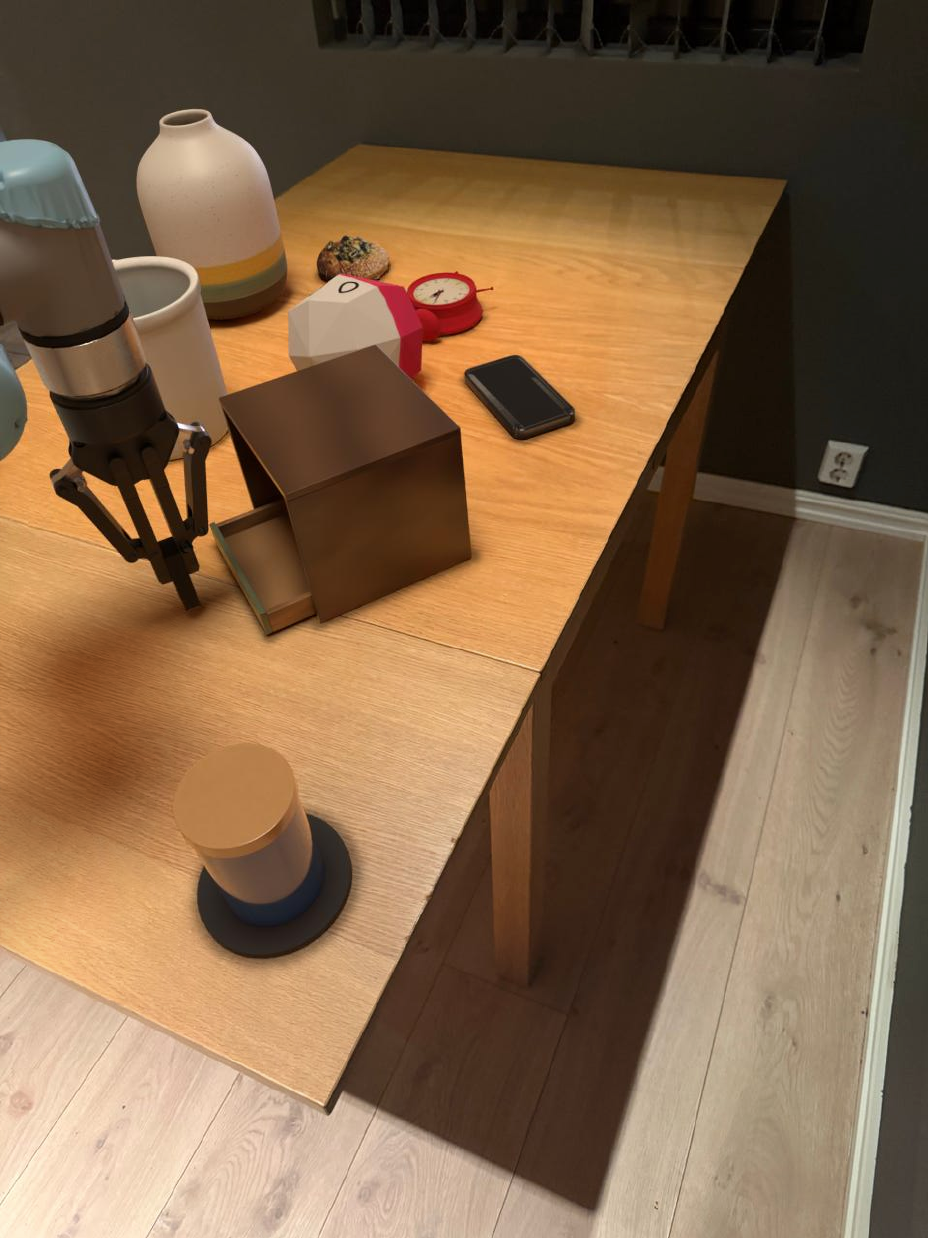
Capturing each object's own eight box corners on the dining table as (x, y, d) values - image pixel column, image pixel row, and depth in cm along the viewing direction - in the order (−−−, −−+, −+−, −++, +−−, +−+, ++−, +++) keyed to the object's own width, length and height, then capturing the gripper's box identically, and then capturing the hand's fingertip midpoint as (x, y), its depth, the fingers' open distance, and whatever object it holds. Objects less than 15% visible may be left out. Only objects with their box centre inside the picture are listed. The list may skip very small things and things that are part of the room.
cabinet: (320, 623, 81) (284, 494, 70) (257, 523, 91) (218, 397, 81) (472, 558, 85) (460, 427, 75) (395, 469, 96) (375, 343, 85)
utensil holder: (265, 413, 106) (226, 271, 93) (173, 480, 98) (117, 335, 85) (180, 382, 112) (133, 244, 99) (87, 442, 104) (23, 302, 91)
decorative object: (432, 253, 99) (340, 277, 89) (457, 386, 106) (373, 422, 95) (340, 269, 109) (247, 292, 98) (368, 391, 115) (283, 424, 105)
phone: (516, 433, 97) (461, 370, 107) (517, 441, 98) (461, 378, 108) (579, 412, 99) (519, 352, 109) (579, 420, 100) (519, 360, 109)
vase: (272, 333, 119) (224, 141, 101) (156, 330, 122) (90, 143, 104) (309, 275, 130) (271, 93, 113) (202, 273, 133) (150, 96, 116)
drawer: (266, 634, 80) (259, 614, 78) (216, 544, 89) (208, 523, 87) (416, 570, 84) (413, 549, 82) (353, 490, 94) (349, 469, 92)
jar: (199, 892, 63) (146, 808, 55) (273, 813, 67) (235, 725, 59) (275, 951, 59) (232, 871, 51) (349, 864, 63) (319, 778, 55)
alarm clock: (503, 285, 116) (416, 302, 107) (498, 332, 120) (413, 352, 111) (450, 262, 121) (364, 277, 113) (447, 308, 125) (362, 326, 117)
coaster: (167, 902, 63) (164, 898, 62) (274, 791, 69) (272, 787, 68) (277, 990, 58) (275, 987, 58) (382, 862, 64) (381, 858, 63)
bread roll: (302, 269, 131) (300, 234, 128) (363, 254, 137) (363, 220, 133) (344, 296, 125) (343, 260, 122) (407, 279, 131) (407, 245, 127)
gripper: (169, 328, 70) (242, 551, 87) (0, 379, 66) (111, 602, 83) (197, 370, 65) (268, 596, 82) (16, 427, 61) (130, 653, 78)
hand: (189, 599), depth 82 cm, fingers closed
